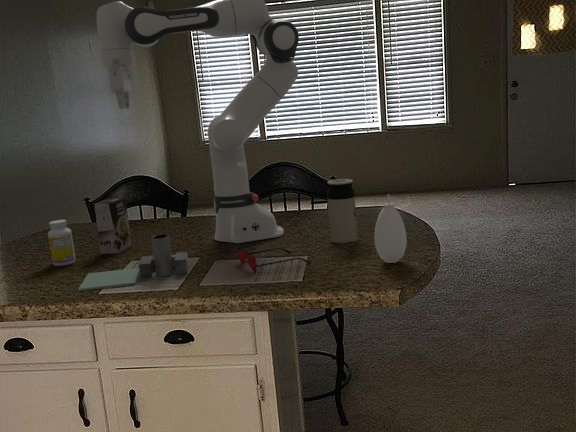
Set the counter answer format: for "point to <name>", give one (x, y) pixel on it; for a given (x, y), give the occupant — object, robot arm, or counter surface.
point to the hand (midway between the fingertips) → (124, 108)
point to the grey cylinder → (162, 255)
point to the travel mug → (342, 211)
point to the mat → (110, 279)
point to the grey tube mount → (177, 261)
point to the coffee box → (113, 225)
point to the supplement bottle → (61, 243)
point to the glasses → (252, 260)
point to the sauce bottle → (390, 234)
